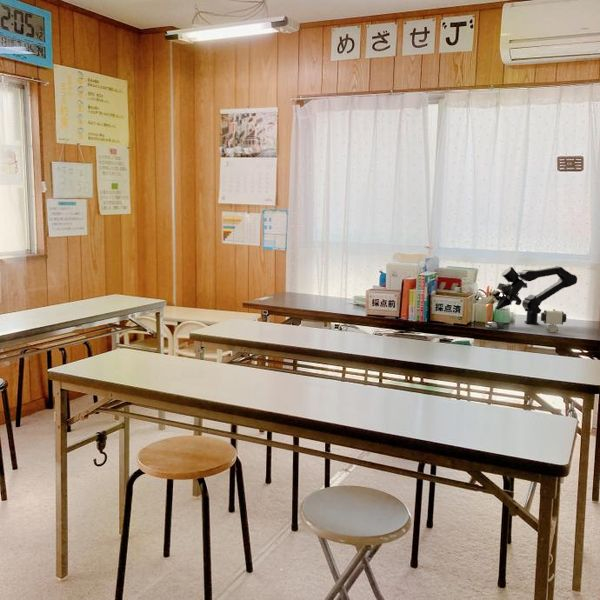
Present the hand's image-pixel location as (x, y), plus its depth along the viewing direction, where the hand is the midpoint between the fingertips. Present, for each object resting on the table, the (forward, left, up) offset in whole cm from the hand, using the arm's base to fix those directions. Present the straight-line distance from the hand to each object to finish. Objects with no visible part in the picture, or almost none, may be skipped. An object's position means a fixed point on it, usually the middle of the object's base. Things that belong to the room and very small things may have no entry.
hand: (496, 308), depth 338 cm
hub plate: (+10, -4, -9) cm, 14 cm away
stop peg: (+9, +1, -9) cm, 13 cm away
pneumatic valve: (+15, +26, -9) cm, 31 cm away
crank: (+7, -4, -8) cm, 12 cm away
